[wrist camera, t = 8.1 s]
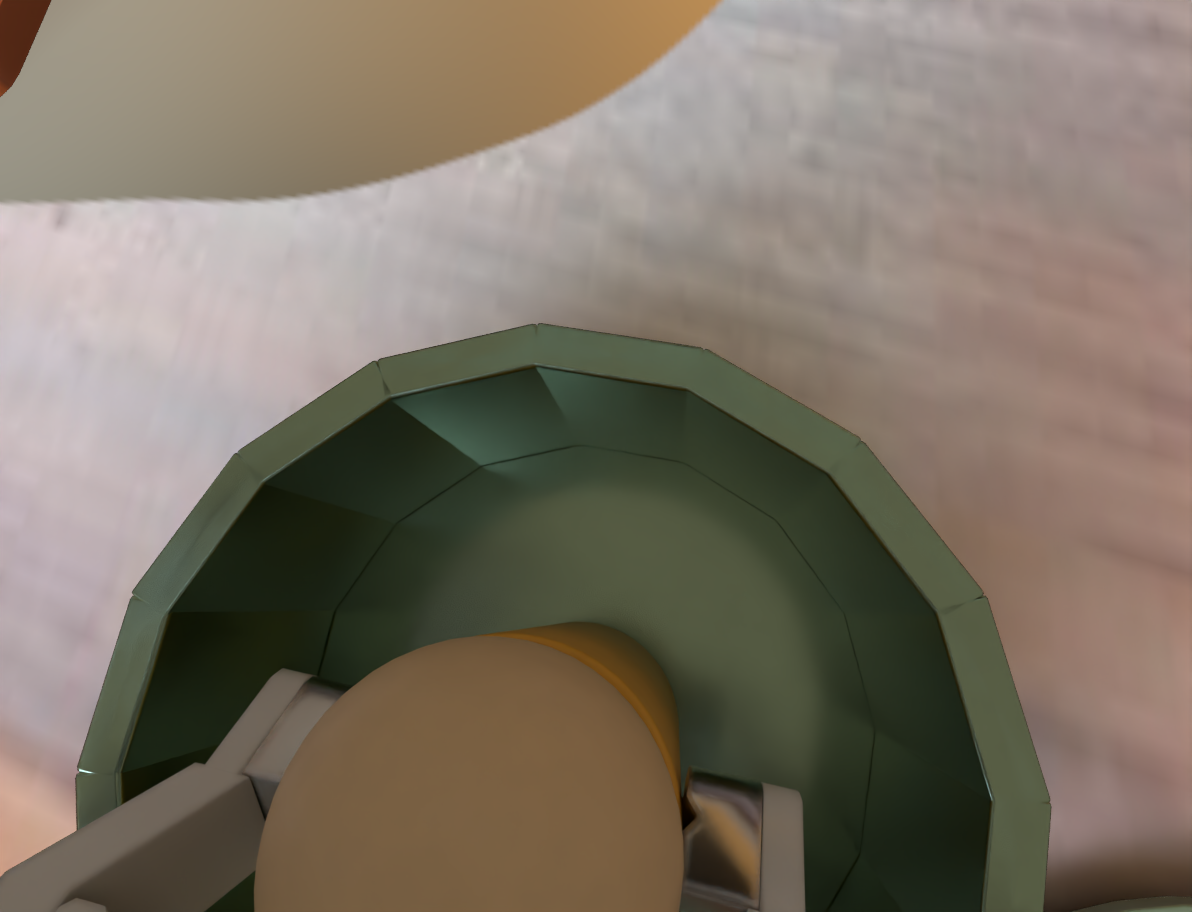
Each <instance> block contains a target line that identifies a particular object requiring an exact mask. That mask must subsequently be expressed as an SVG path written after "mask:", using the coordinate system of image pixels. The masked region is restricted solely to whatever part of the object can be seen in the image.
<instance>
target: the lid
mask: <svg viewBox="0 0 1192 912" xmlns="http://www.w3.org/2000/svg"><path fill="white" fill-rule="evenodd" d="M1071 912H1192V897H1182V896H1162V897H1152V898H1141V899H1130V900H1119V901H1113V902H1109V903H1104V904H1100V905H1096V906H1092V907H1088V908H1084V909H1080V910H1075V911H1071Z"/></svg>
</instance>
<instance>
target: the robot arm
mask: <svg viewBox="0 0 1192 912" xmlns="http://www.w3.org/2000/svg"><path fill="white" fill-rule="evenodd" d="M352 687H353V685H349V684H345V683H341V682H336V681H332V680H328V679H324V678H320V677H317V676H315V675H310V674H306V673H301V672H297V671H293V670H288V669H284V668H282V669H281V670H279V671H278V672H277V673H275V674H274V675H273V676H272V677H270V678H269V680H268V681H267V682H266V684H265V685H264V686H263V688H262V689H261V690H260V692H259V693H258V694H257V696H256V697H255V698H254V700H253V701H252V702H251V704H250V705H249V706H248V708H247V709H246V710H245V712H244V713H243V714H242V716H241V717H240V718H239V720H238V721H237V722H236V724H235V725H234V726H233V728H232V729H231V730H230V732H229V733H228V734H227V736H226V737H225V738H224V740H223V741H222V742H221V744H220V745H219V746H218V748H217V749H216V750H215V752H214V753H213V754H212V756H211V757H210V758H209V760H208V761H207V762H206V764H201V763H196V762H195V763H193V764H192V765H190V766H188V767H187V768H185V769H183V770H181V771H180V772H178V773H176V774H174V775H173V776H171V777H169V778H167V779H166V780H164V781H162V782H161V783H159V784H157V785H155V786H154V787H152V788H150V789H148V790H147V791H145V792H143V793H141V794H140V795H138V796H136V797H134V798H133V799H131V800H129V801H128V802H126V803H124V804H122V805H121V806H119V807H117V808H115V809H114V810H112V811H110V812H108V813H107V814H105V815H103V816H101V817H100V818H98V819H96V820H95V821H93V822H91V823H89V824H88V825H86V826H84V827H82V828H81V829H79V830H77V831H75V832H74V833H72V834H70V835H68V836H67V837H65V838H63V839H62V840H60V841H58V842H56V843H55V844H53V845H51V846H49V847H48V848H46V849H44V850H42V851H41V852H39V853H37V854H35V855H34V856H32V857H30V858H29V859H27V860H25V861H23V862H22V863H20V864H18V865H16V866H15V867H13V868H11V869H9V870H8V871H6V872H5V873H4V874H3V875H2V876H1V877H0V912H204V911H206V910H207V909H208V908H209V907H211V906H212V905H213V904H214V903H216V902H217V901H218V900H219V899H221V898H222V897H223V896H224V895H225V894H227V893H228V892H229V891H230V890H232V889H233V888H234V887H235V886H237V885H238V884H239V883H240V882H242V881H243V880H244V879H245V878H246V877H248V876H249V875H250V874H251V873H253V872H254V871H255V870H256V861H257V856H258V851H259V847H260V842H261V837H262V832H263V829H264V825H265V821H266V818H267V815H268V812H269V809H270V806H271V803H272V800H273V797H274V794H275V792H276V790H277V787H278V785H279V783H280V781H281V779H282V777H283V774H284V772H285V770H286V768H287V767H288V765H289V763H290V762H291V760H292V758H293V757H294V755H295V753H296V752H297V750H298V748H299V747H300V745H301V744H302V742H303V741H304V739H305V738H306V736H307V735H308V733H309V732H310V731H311V730H312V728H313V727H314V726H315V724H316V723H317V722H318V721H319V719H320V718H321V717H322V716H323V714H324V713H325V712H326V711H327V710H328V709H329V708H330V707H331V706H332V705H333V704H334V703H335V702H336V701H337V700H338V699H339V698H340V697H341V696H342V695H343V694H344V693H346V692H347V691H348V690H349V689H351V688H352ZM682 833H683V853H684V872H683V881H682V891H681V900H680V907H679V912H805V882H804V840H803V801H802V798H801V796H800V793H799V791H798V790H795V789H791V788H786V787H782V786H777V785H773V784H769V783H764V782H761V781H760V780H755V779H751V778H746V777H741V776H737V775H732V774H728V773H723V772H719V771H714V770H709V769H705V768H700V767H696V766H691V765H690V766H689V768H688V772H687V776H686V780H685V788H684V795H683V797H682Z"/></svg>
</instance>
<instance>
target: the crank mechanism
mask: <svg viewBox="0 0 1192 912" xmlns="http://www.w3.org/2000/svg"><path fill="white" fill-rule="evenodd" d="M50 2H51V0H0V97H1V96H2V95H3V94H4V93H5V92H6V91H7V90H8V89H9V88H10V87H11V86H12V85H13V83H14V82H15V80H16V78H17V77H18V75H19V73H20V71H21V69H22V67H23V64H24V62H25V60H26V57H27V55H28V53H29V50H30V48H31V46H32V43H33V41H34V39H35V37H36V34H37V32H38V30H39V28H40V25H41V23H42V21H43V18H44V16H45V14H46V11H47V9H48V7H49V5H50Z"/></svg>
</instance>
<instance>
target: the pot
mask: <svg viewBox="0 0 1192 912" xmlns="http://www.w3.org/2000/svg"><path fill="white" fill-rule="evenodd" d="M132 594H133V595H134V596H132V597H131V599H130V601H129V604H128V607H127V611H126V614H125V617H124V620H123V623H122V626H121V630H120V633H119V636H118V639H117V642H116V645H115V649H114V652H113V655H112V658H111V661H110V664H109V667H108V671H107V674H106V677H105V680H104V683H103V686H102V690H101V693H100V696H99V699H98V702H97V705H96V709H95V712H94V715H93V718H92V721H91V724H90V728H89V731H88V734H87V737H86V740H85V743H84V747H83V750H82V753H81V756H80V759H79V762H78V766H77V770H78V771H79V773H78V774H77V775H76V778H75V783H76V822H77V830H79V829H81V828H82V827H84V826H86V825H88V824H89V823H91V822H93V821H95V820H96V819H98V818H100V817H101V816H103V815H105V814H107V813H108V812H110V811H112V810H114V809H115V808H117V807H119V806H121V805H122V804H124V803H126V802H128V801H129V800H131V799H133V798H134V797H136V796H138V795H140V794H141V793H143V792H145V791H147V790H148V789H150V788H152V787H154V786H155V785H157V784H159V783H161V782H162V781H164V780H166V779H167V778H169V777H171V776H173V775H174V774H176V773H178V772H180V771H181V770H183V769H185V768H187V767H188V766H190V765H192V764H193V763H195V762H196V763H201V764H206V762H207V761H208V760H209V758H210V757H211V756H212V754H213V753H214V752H215V750H216V749H217V748H218V746H219V745H220V744H221V742H222V741H223V740H224V738H225V737H226V736H227V734H228V733H229V732H230V730H231V729H232V728H233V726H234V725H235V724H236V722H237V721H238V720H239V718H240V717H241V716H242V714H243V713H244V712H245V710H246V709H247V708H248V706H249V705H250V704H251V702H252V701H253V700H254V698H255V697H256V696H257V694H258V693H259V692H260V690H261V689H262V688H263V686H264V685H265V684H266V682H267V681H268V680H269V678H270V677H272V676H273V675H274V674H275V673H277V672H278V671H279V670H281V669H282V668H284V669H288V670H293V671H297V672H301V673H306V674H310V675H315V676H317V677H320V678H324V679H328V680H332V681H336V682H341V683H345V684H349V685H353V686H354V685H356V684H357V683H358V682H360V681H361V680H362V679H363V678H365V677H366V676H367V675H369V674H370V673H371V672H373V671H374V670H376V669H378V668H379V667H381V666H383V665H384V664H386V663H388V662H390V661H391V660H393V659H395V658H397V657H400V656H402V655H404V654H407V653H409V652H411V651H414V650H416V649H419V648H421V647H424V646H427V645H431V644H435V643H438V642H442V641H446V640H449V639H456V638H464V637H472V636H477V635H484V634H491V633H498V632H505V631H512V630H518V629H525V628H532V627H539V626H546V625H553V624H560V623H568V622H590V623H597V624H601V625H605V626H608V627H611V628H613V629H616V630H618V631H620V632H623V633H624V634H626V635H628V636H629V637H631V638H633V639H634V640H635V641H636V642H638V643H639V644H640V645H642V646H643V647H644V648H645V649H646V650H647V651H648V652H649V653H650V654H651V655H652V656H653V658H654V659H655V660H656V662H657V663H658V664H659V666H660V667H661V668H662V670H663V672H664V674H665V676H666V677H667V679H668V681H669V684H670V686H671V689H672V691H673V694H674V698H675V701H676V705H677V712H678V719H679V743H680V769H681V794H682V797H683V795H684V788H685V780H686V776H687V772H688V768H689V766H690V765H691V766H696V767H700V768H705V769H709V770H714V771H719V772H723V773H728V774H732V775H737V776H741V777H746V778H751V779H755V780H760V781H761V782H764V783H769V784H773V785H777V786H782V787H786V788H791V789H795V790H798V791H799V793H800V796H801V798H802V801H803V840H804V882H805V912H1043V910H1044V897H1045V884H1046V871H1047V858H1048V845H1049V832H1050V819H1051V804H1050V803H1049V802H1050V796H1049V793H1048V790H1047V787H1046V783H1045V780H1044V777H1043V774H1042V771H1041V767H1040V764H1039V761H1038V758H1037V755H1036V752H1035V748H1034V745H1033V742H1032V739H1031V736H1030V732H1029V729H1028V726H1027V723H1026V720H1025V716H1024V713H1023V710H1022V707H1021V704H1020V700H1019V697H1018V694H1017V691H1016V688H1015V684H1014V681H1013V678H1012V675H1011V672H1010V668H1009V665H1008V662H1007V659H1006V656H1005V653H1004V649H1003V646H1002V643H1001V640H1000V637H999V633H998V630H997V627H996V624H995V621H994V617H993V614H992V611H991V608H990V605H989V601H988V598H987V597H986V596H984V595H983V594H984V593H983V591H982V589H981V588H980V587H979V585H978V584H977V583H976V582H975V580H974V579H973V578H972V577H971V575H970V574H969V573H968V572H967V570H966V569H965V568H964V566H963V565H962V564H961V563H960V561H959V560H958V559H957V558H956V556H955V555H954V554H953V553H952V551H951V550H950V549H949V548H948V546H947V545H946V544H945V543H944V541H943V540H942V539H941V538H940V536H939V535H938V534H937V533H936V531H935V530H934V529H933V528H932V526H931V525H930V524H929V523H928V521H927V520H926V519H925V518H924V516H923V515H922V514H921V513H920V511H919V510H918V509H917V508H916V506H915V505H914V504H913V503H912V501H911V500H910V499H909V497H908V496H907V495H906V494H905V492H904V491H903V490H902V489H901V487H900V486H899V485H898V484H897V482H896V481H895V480H894V479H893V477H892V476H891V475H890V474H889V472H888V471H887V470H886V469H885V467H884V466H883V465H882V464H881V462H880V461H879V460H878V459H877V457H876V456H875V455H874V454H873V452H872V451H871V450H870V449H869V447H868V446H867V445H866V444H865V443H864V442H863V441H860V438H859V437H858V436H856V435H855V434H853V433H851V432H850V431H848V430H846V429H844V428H843V427H841V426H839V425H838V424H836V423H834V422H832V421H831V420H829V419H827V418H825V417H824V416H822V415H820V414H819V413H817V412H815V411H813V410H812V409H810V408H808V407H807V406H805V405H803V404H801V403H800V402H798V401H796V400H794V399H793V398H791V397H789V396H788V395H786V394H784V393H782V392H781V391H779V390H777V389H776V388H774V387H772V386H770V385H769V384H767V383H765V382H763V381H762V380H760V379H758V378H757V377H755V376H753V375H751V374H750V373H748V372H746V371H745V370H743V369H741V368H739V367H738V366H736V365H734V364H732V363H731V362H729V361H727V360H726V359H724V358H722V357H720V356H719V355H717V354H715V353H713V352H712V351H710V350H708V349H705V350H704V349H703V348H701V347H696V346H689V345H682V344H676V343H669V342H662V341H656V340H649V339H642V338H636V337H629V336H623V335H616V334H609V333H603V332H596V331H589V330H583V329H576V328H569V327H563V326H556V325H549V324H543V323H540V324H538V325H536V324H530V325H525V326H521V327H517V328H512V329H508V330H504V331H499V332H495V333H490V334H486V335H482V336H477V337H473V338H469V339H464V340H460V341H455V342H451V343H447V344H442V345H438V346H434V347H429V348H425V349H420V350H416V351H412V352H407V353H403V354H399V355H394V356H390V357H385V358H381V359H379V360H378V362H377V361H372V362H371V363H369V364H368V365H366V366H365V367H363V368H362V369H360V370H359V371H357V372H356V373H354V374H353V375H351V376H350V377H348V378H347V379H345V380H344V381H342V382H341V383H339V384H338V385H336V386H335V387H333V388H332V389H330V390H329V391H327V392H326V393H324V394H323V395H321V396H320V397H318V398H317V399H315V400H314V401H312V402H311V403H309V404H308V405H306V406H305V407H303V408H302V409H300V410H299V411H297V412H296V413H294V414H293V415H291V416H290V417H288V418H287V419H285V420H284V421H282V422H281V423H279V424H278V425H276V426H275V427H273V428H272V429H270V430H269V431H267V432H266V433H264V434H263V435H261V436H260V437H258V438H257V439H255V440H254V441H252V442H250V443H249V444H247V445H246V446H244V447H243V448H241V449H240V450H239V451H238V453H235V454H234V455H233V456H232V458H231V459H230V460H229V462H228V463H227V464H226V466H225V467H224V468H223V470H222V471H221V472H220V474H219V475H218V476H217V478H216V479H215V480H214V482H213V483H212V485H211V486H210V487H209V489H208V490H207V491H206V493H205V494H204V495H203V497H202V498H201V499H200V501H199V502H198V503H197V505H196V506H195V507H194V509H193V510H192V511H191V513H190V514H189V515H188V517H187V518H186V520H185V521H184V522H183V524H182V525H181V526H180V528H179V529H178V530H177V532H176V533H175V534H174V536H173V537H172V538H171V540H170V541H169V542H168V544H167V545H166V546H165V548H164V549H163V550H162V552H161V553H160V555H159V556H158V557H157V559H156V560H155V561H154V563H153V564H152V565H151V567H150V568H149V569H148V571H147V572H146V573H145V575H144V576H143V577H142V579H141V580H140V581H139V583H138V584H137V585H136V587H135V588H134V590H133V591H132ZM255 872H256V870H255V871H254V872H253V873H251V874H250V875H249V876H248V877H246V878H245V879H244V880H243V881H242V882H240V883H239V884H238V885H237V886H235V887H234V888H233V889H232V890H230V891H229V892H228V893H227V894H225V895H224V896H223V897H222V898H221V899H219V900H218V901H217V902H216V903H214V904H213V905H212V906H211V907H209V908H208V909H207V910H206V911H204V912H254V883H255Z"/></svg>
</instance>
